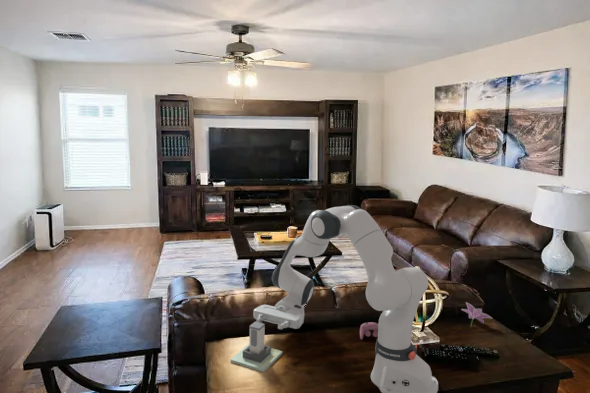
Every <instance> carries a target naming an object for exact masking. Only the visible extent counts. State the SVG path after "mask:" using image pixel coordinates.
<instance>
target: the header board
mask: <svg viewBox="0 0 590 393" xmlns="http://www.w3.org/2000/svg"><path fill="white" fill-rule="evenodd" d="M282 355H283V351H282V350H279V349H277V348H273V347H271V346H268V345H266V344H264V352H262V353H261V354H260V355H258V354H255V353H252V352H250V342H249V343H248V344H247V345H246V346H244V347H243V348H241V350H240V351H238V352H237V353H236V354H235V355H234V356H232V357H231V358H230V363H232V362H233V363H232V364H236V363H237V365H239V364H240V365H239V366H242V365H243V367H245V366H246V367H245V368H248V367H249V369H252V370H255V371H259V372H262V373H265V372H266V371H267V370H268V369H269V368H270V366H271V365H273V364H274V363H275V362H276V360H278V359H279V358H280V357H281V356H282Z"/></svg>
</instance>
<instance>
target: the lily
mask: <svg viewBox="0 0 590 393" xmlns="http://www.w3.org/2000/svg"><path fill="white" fill-rule="evenodd" d="M465 305H466V307H467V308H461V309H460V310H461V311H463V312H465V313H466V314H468V318H469V319H471V323H470V327H472V325H473V322H474V319H476V320H478V321H479V322H480V323H482V324H485V321H484V319H493V317H492V316H490V315H489V314H487V313H484V312H483V309H482V308H475V306H473V305H472V304H471V303H469V302H467V301H466V302H465Z"/></svg>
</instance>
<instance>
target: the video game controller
mask: <svg viewBox="0 0 590 393" xmlns="http://www.w3.org/2000/svg"><path fill="white" fill-rule="evenodd" d="M378 325H379V322H378V323H377V322H373V321H370V322H364V323H362V324H361V325H360V327H359V339H360V340H361V341H362V340H363V339H364V337H365V336H366V337H370V336H371V334H372V336H373V338H374V337H375V338H378ZM370 330H371V331H373V333H371V331H370ZM364 335H365V336H364Z"/></svg>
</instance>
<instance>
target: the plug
mask: <svg viewBox="0 0 590 393" xmlns="http://www.w3.org/2000/svg"><path fill="white" fill-rule="evenodd" d="M265 325H266V324H265V323H263V322H262V323H259V322H256V321H254V322H253V323H251V324H250V325H249V326H248V327H249V343H250V352H252V353H255V354H258V355H260V354H261V353H262V352H264V345H265V340H266V339H265V334H266V333H265V329H266V328H265V327H266V326H265Z"/></svg>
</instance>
